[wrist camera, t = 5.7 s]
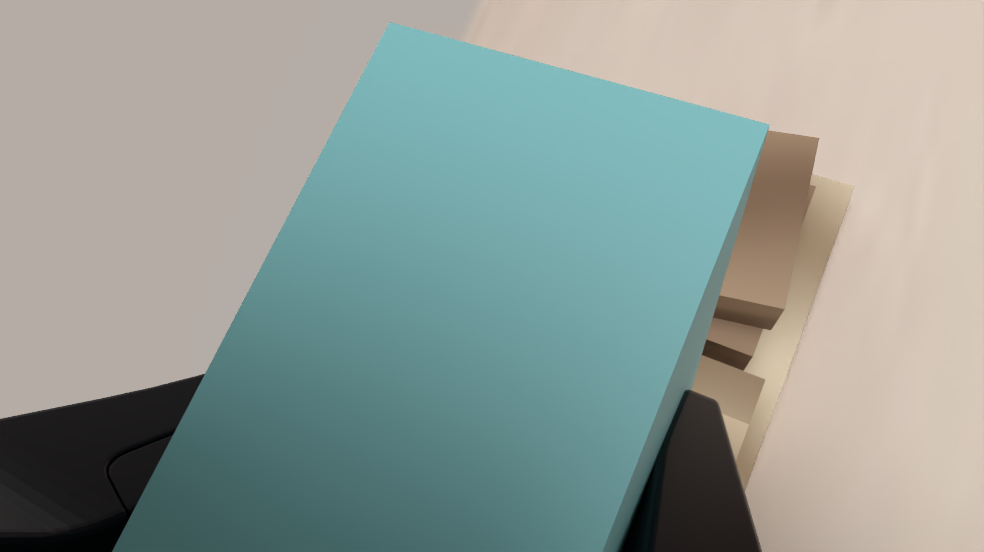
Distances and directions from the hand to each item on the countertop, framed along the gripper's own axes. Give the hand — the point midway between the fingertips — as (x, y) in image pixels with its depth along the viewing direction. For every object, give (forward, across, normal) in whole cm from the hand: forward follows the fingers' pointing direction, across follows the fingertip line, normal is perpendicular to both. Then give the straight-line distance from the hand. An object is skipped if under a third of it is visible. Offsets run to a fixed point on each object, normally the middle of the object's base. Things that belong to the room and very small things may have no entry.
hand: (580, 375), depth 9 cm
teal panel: (+3, 0, +5) cm, 6 cm away
